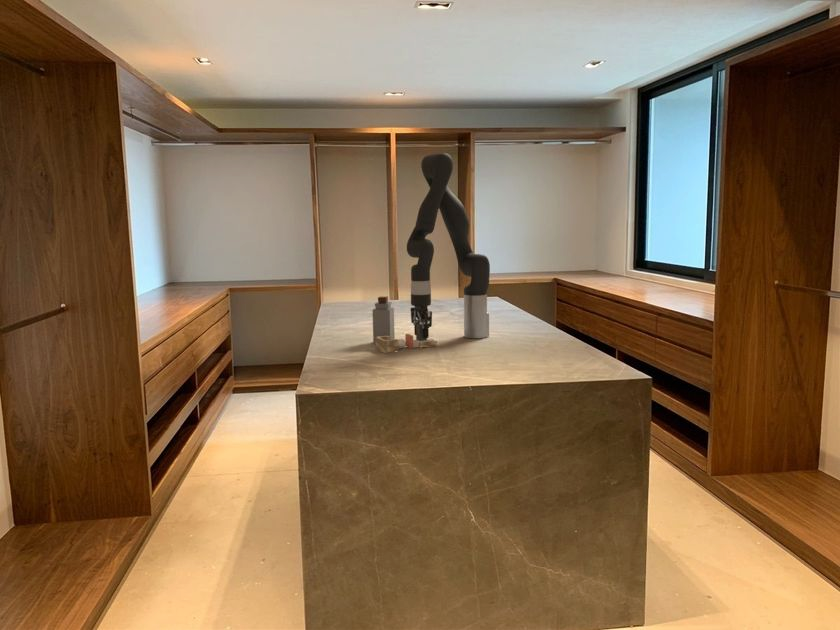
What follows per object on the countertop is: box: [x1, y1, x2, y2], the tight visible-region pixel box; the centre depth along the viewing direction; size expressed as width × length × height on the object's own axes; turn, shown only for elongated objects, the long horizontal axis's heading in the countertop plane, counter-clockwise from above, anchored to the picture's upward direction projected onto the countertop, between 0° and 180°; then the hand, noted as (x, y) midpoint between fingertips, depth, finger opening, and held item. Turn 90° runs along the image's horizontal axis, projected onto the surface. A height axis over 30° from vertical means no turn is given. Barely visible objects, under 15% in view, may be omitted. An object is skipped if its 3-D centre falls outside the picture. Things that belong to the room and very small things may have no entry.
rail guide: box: [418, 339, 438, 349], centre depth 244 cm, size 7×6×2 cm
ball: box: [398, 338, 406, 349], centre depth 240 cm, size 4×4×4 cm
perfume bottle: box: [371, 296, 395, 344], centre depth 250 cm, size 7×7×18 cm
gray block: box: [404, 323, 435, 349], centre depth 243 cm, size 10×4×8 cm, turn 115°
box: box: [375, 336, 400, 354], centre depth 238 cm, size 5×9×4 cm, turn 25°
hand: (421, 336), depth 243 cm, fingers open, 6 cm apart
